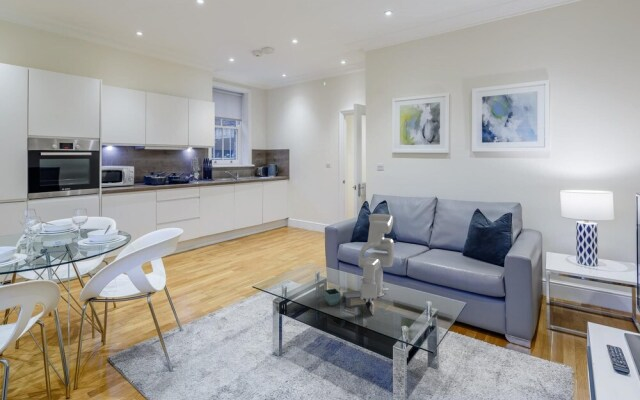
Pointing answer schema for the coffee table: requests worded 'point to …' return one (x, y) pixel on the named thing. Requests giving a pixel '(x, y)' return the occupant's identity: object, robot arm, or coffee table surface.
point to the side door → (372, 308)
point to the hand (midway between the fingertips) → (368, 307)
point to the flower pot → (332, 296)
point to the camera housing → (353, 299)
